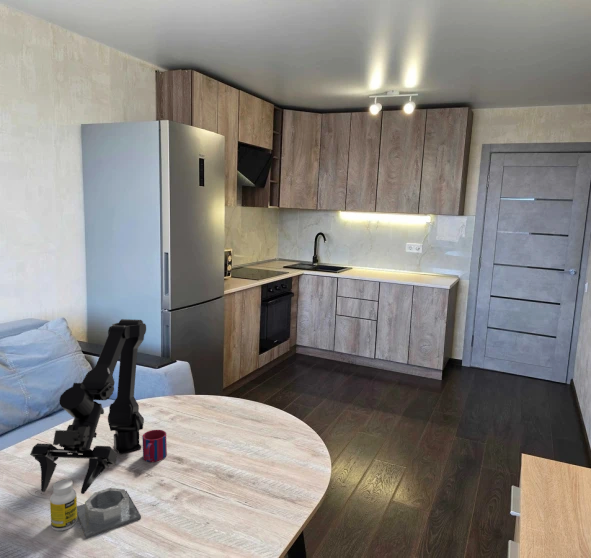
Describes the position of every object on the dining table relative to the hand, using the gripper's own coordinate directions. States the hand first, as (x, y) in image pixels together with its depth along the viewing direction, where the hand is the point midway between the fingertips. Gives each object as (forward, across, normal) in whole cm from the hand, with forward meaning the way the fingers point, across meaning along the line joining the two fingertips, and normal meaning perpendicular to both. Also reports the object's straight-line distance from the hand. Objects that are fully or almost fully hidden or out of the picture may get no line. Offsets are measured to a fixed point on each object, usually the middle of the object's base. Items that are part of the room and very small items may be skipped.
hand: (62, 492), depth 106 cm
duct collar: (+2, +8, +8) cm, 12 cm away
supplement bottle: (+6, 0, +6) cm, 8 cm away
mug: (-15, +10, +26) cm, 32 cm away
